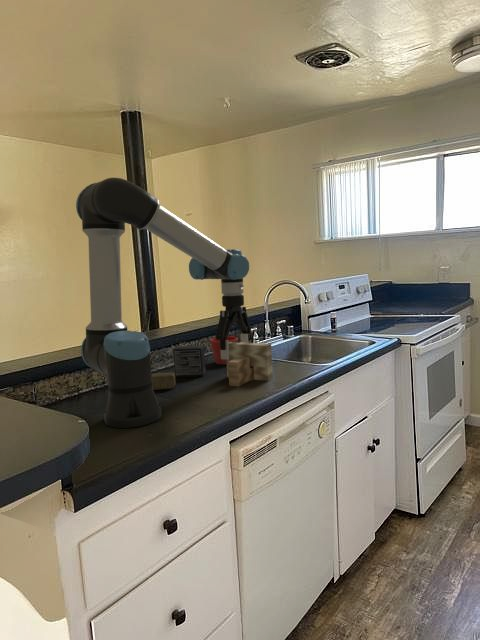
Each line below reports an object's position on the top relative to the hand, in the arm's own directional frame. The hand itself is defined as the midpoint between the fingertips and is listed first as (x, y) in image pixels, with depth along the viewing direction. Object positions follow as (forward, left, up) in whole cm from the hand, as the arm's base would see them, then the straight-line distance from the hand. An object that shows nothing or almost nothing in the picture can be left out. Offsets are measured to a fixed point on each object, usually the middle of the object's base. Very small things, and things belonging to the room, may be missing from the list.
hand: (235, 355), depth 169 cm
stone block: (-21, +18, -8) cm, 29 cm away
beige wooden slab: (0, -5, -8) cm, 9 cm away
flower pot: (+18, +16, -8) cm, 26 cm away
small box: (-3, +18, -8) cm, 20 cm away
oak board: (0, -5, -8) cm, 9 cm away
